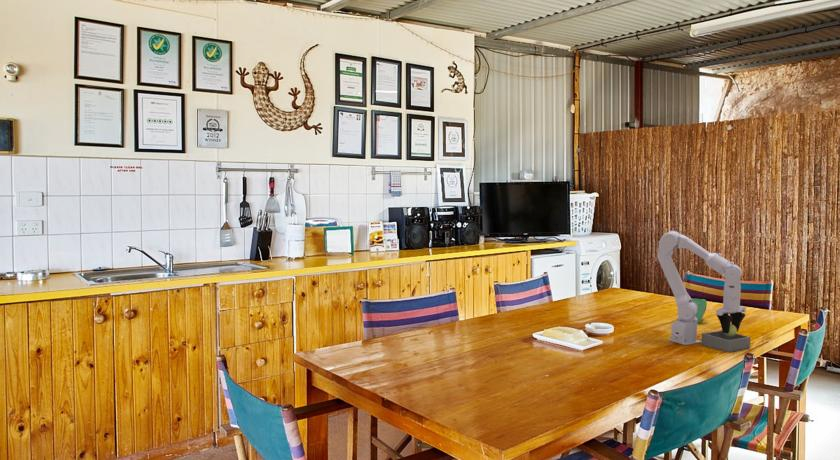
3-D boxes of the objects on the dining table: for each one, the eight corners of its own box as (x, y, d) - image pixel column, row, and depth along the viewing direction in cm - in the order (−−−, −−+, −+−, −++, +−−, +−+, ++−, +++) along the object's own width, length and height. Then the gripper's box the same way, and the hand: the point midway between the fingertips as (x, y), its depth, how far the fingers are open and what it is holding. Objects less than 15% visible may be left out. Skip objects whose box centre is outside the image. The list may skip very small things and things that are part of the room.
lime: (729, 338, 238) (729, 326, 237) (719, 335, 242) (720, 323, 242) (739, 337, 239) (739, 324, 239) (729, 334, 244) (729, 321, 243)
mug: (699, 326, 275) (700, 303, 274) (677, 322, 282) (678, 300, 281) (714, 321, 284) (715, 299, 284) (693, 317, 292) (694, 296, 291)
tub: (729, 352, 233) (729, 340, 233) (701, 344, 244) (701, 333, 243) (749, 348, 239) (750, 337, 238) (721, 341, 249) (722, 330, 249)
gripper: (728, 300, 232) (727, 336, 233) (753, 297, 239) (752, 332, 240) (711, 297, 239) (710, 332, 240) (737, 294, 245) (735, 328, 246)
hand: (730, 332), depth 240 cm, fingers closed on lime, 5 cm apart
